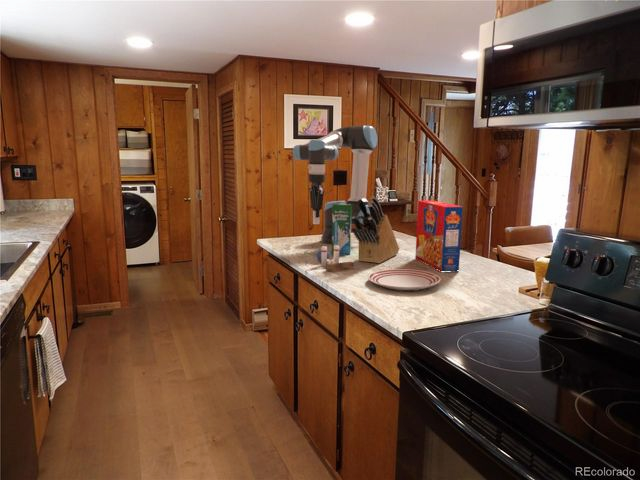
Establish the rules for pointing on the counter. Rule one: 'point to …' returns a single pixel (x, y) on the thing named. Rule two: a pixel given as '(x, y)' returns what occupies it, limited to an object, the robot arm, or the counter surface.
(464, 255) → the counter surface
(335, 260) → the pin
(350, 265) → the brown wooden bar
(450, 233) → the pasta box
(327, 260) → the front pin
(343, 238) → the milk carton
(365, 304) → the counter surface
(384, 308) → the counter surface
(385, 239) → the knife block
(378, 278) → the dinner plate
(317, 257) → the ball
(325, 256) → the pin
